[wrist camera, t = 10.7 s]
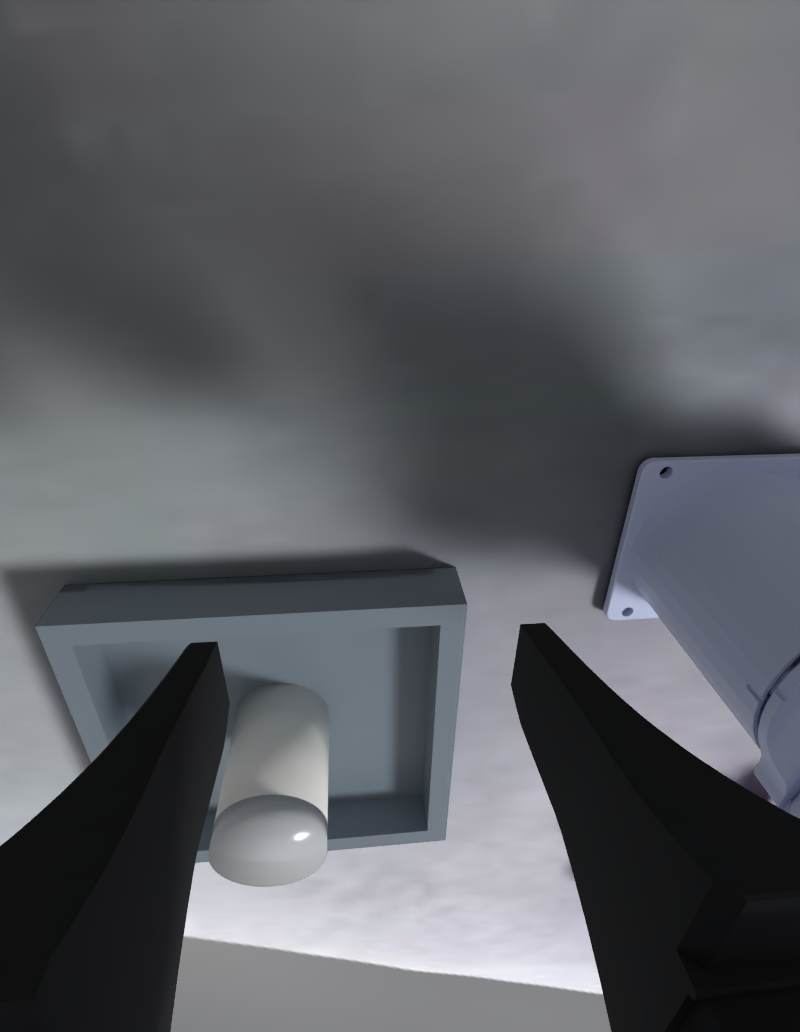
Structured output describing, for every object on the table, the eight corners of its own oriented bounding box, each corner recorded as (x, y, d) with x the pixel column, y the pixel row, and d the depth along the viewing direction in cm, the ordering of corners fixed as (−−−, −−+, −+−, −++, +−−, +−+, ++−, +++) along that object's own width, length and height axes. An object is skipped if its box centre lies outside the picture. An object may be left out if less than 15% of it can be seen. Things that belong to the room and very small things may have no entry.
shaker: (326, 680, 26) (323, 815, 20) (331, 743, 28) (329, 880, 22) (229, 686, 25) (199, 825, 20) (242, 749, 27) (217, 891, 22)
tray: (455, 567, 24) (467, 604, 22) (438, 796, 32) (445, 839, 30) (64, 585, 22) (35, 626, 20) (149, 820, 30) (134, 868, 28)
